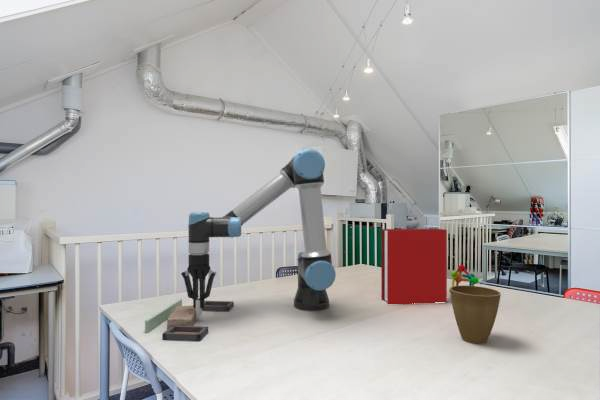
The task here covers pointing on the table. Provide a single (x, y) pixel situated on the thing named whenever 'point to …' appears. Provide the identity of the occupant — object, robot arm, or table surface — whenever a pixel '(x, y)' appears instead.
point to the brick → (182, 316)
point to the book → (414, 266)
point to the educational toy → (458, 279)
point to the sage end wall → (161, 316)
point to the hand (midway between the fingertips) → (198, 316)
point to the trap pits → (196, 331)
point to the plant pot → (475, 311)
